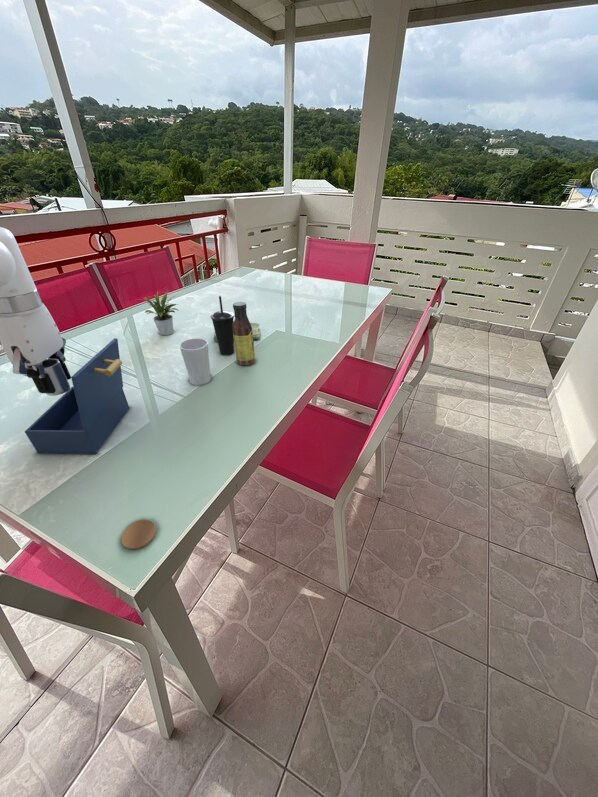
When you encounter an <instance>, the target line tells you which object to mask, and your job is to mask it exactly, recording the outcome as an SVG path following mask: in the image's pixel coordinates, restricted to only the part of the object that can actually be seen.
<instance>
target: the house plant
mask: <svg viewBox="0 0 598 797" xmlns="http://www.w3.org/2000/svg"><path fill="white" fill-rule="evenodd" d="M168 293H169V291H166V292H165V293H164V294H163V296H162V298H161V300H160V297H159V290H157V292H156V294H153V296H154V299H155V300H154V299H153V298H152V297H151V296H149V298H150V299H149V298H148V297H147V295H145V296H144V297H143V299H140V298H139V300H141V301H142V300H144V301H146V303H147V304H149V306H151V307H152V308H153V310H154V311H155V312H154V311H153V310H150V309H147V310H144V311H145V312H144V313H146V315H148V314H154V315H155V316H154V317H153V323H154V324H155V326H156V329H157V331H158V333H159V335H161V336H169V335H172V334H173V333H174V318H173V315H172V314H170V313H175V314H176V311H177V312H179V309H178V308H176V307H174V306H178V304H176V303H170V301H172V299H173V298H174V297H175V295H172V296H171V297H170V298H169V299H168ZM167 299H168V300H167Z"/></svg>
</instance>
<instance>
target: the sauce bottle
mask: <svg viewBox="0 0 598 797" xmlns="http://www.w3.org/2000/svg"><path fill="white" fill-rule="evenodd" d="M232 308H233V312H234V313H233V314H234V319H233V337H234V353H235V359H236V362H237V364H238V365H241V366H249V365H252V364H254V363H255V361H256V360H255V359H256V358H255V357H256V352H255V343H254V340H253V332H252V326H251V324H250V323H251V321H250V320H249V317H248V315H247V303H246V302H245V301H244V302H243V301H236V302H234V303H232Z"/></svg>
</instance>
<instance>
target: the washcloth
mask: <svg viewBox="0 0 598 797" xmlns="http://www.w3.org/2000/svg"><path fill="white" fill-rule="evenodd" d="M250 324H251V326H252V332H253V341H255V340H259V339H260V337H261V336H260V334H261V329H260V323H257V322H250ZM213 340H214V342H217V338H216V333H215V332H214V334H213Z"/></svg>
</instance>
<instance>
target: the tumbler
mask: <svg viewBox="0 0 598 797" xmlns="http://www.w3.org/2000/svg"><path fill="white" fill-rule="evenodd" d="M42 363H43V367H44V371H45V375H46V376H49V377H50V379H51V381H52V383H53V386H54V388H55V390H56V392H55V393H45V394H46V395H47V396H50V397H53V396H60V395H64V394H65V393H66V392H67V391H68V390H69V389H70V388H71V384H70V382H69V380H67V377H66V375H65V373H64V371H63V368H62V366H61V364H60V362H59V359H52V358H51V359H48V358H47V359H46V360H44V361H43V362H42ZM32 367H33V370H36V371H37V369H36V366H32Z"/></svg>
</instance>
